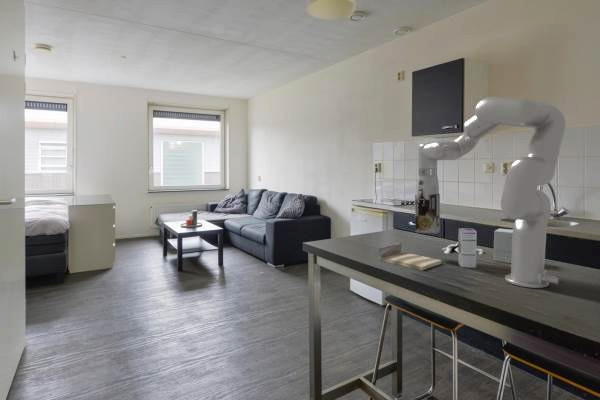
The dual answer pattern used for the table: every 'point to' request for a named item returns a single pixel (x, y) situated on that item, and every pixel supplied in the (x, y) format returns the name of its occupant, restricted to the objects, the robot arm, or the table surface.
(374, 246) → the table surface
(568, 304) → the table surface
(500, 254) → the supplement box
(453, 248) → the cloth
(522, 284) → the robot arm
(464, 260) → the syrup box
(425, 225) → the coffee box
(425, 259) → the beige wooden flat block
